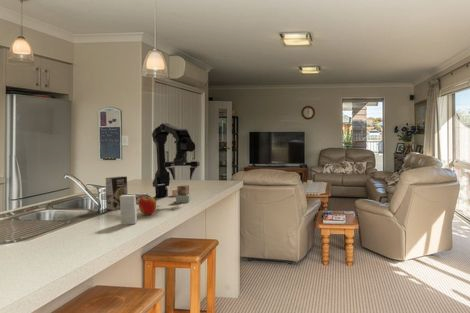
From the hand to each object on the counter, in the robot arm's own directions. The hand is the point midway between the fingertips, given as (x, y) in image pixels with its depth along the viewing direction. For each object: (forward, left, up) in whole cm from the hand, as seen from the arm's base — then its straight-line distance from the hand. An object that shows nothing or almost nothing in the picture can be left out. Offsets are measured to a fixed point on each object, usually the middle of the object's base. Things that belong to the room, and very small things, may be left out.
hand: (182, 179), depth 249 cm
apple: (-6, -40, -12) cm, 42 cm away
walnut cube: (0, -1, -8) cm, 8 cm away
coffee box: (-29, -22, -12) cm, 38 cm away
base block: (0, -1, -12) cm, 12 cm away
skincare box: (-7, -60, -12) cm, 61 cm away
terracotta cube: (-11, +21, -12) cm, 27 cm away
